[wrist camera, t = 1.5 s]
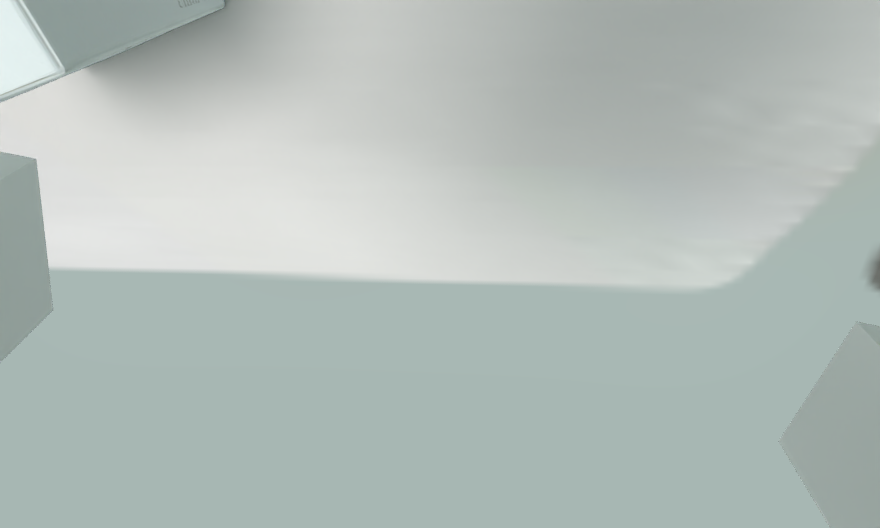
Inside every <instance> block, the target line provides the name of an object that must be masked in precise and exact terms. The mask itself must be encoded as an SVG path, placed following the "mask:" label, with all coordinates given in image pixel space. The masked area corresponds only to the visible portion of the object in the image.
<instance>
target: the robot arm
mask: <svg viewBox="0 0 880 528" xmlns="http://www.w3.org/2000/svg"><path fill="white" fill-rule="evenodd" d="M52 311H53V304H52V295H51V285H50V276H49V268H48V259H47V250H46V241H45V232H44V224H43V215H42V206H41V197H40V188H39V179H38V171H37V162H36V159H34V158H29V157H24V156H19V155H14V154H9V153H4V152H0V362H1V361H2V360H3V359H4V358H6V357H7V356H8V354H10V352H12V350H14V349H15V348H16V347H17V346H18V345H19V344H20V343H21V342H22V341H23V340H24V338H25V337H27V336H28V335H29V334H30V333H31V332H32V330H34V329H35V328H36V327H37V326H38V325H39V324H40V323H41V322H42V321H43V320H44V319H45V318H46V317H47V316H48V315H49V314H50V313H51V312H52ZM779 443H780V445H781V446H782V448H783V450H784V451H785V453H786V455H787V456H788V458H789V460H790V461H791V463H792V465H793V466H794V468H795V470H796V472H797V473H798V475H799V476H800V478H801V480H802V481H803V483H804V485H805V487H806V488H807V490H808V492H809V493H810V495H811V497H812V498H813V500H814V502H815V503H816V505H817V507H818V508H819V510H820V512H821V513H822V515H823V517H824V518H825V520H826V522H827V523H828V525H829V527H830V528H880V326H876V325H871V324H866V323H861V322H856V323H855V324H854V326H853V327H852V329H851V330H850V332H849V334H848V335H847V337H846V338H845V340H844V341H843V343H842V344H841V346H840V347H839V349H838V351H837V352H836V353H835V355H834V357H833V358H832V360H831V361H830V363H829V364H828V366H827V367H826V369H825V371H824V372H823V374H822V375H821V377H820V378H819V380H818V381H817V383H816V384H815V386H814V388H813V389H812V390H811V392H810V394H809V395H808V397H807V398H806V400H805V401H804V403H803V404H802V406H801V407H800V409H799V410H798V412H797V413H796V415H795V417H794V418H793V420H792V421H791V423H790V424H789V426H788V427H787V429H786V430H785V432H784V434H783V435H782V437H781V438H780V440H779Z"/></svg>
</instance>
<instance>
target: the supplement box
mask: <svg viewBox="0 0 880 528" xmlns="http://www.w3.org/2000/svg"><path fill="white" fill-rule="evenodd" d="M224 6H225V1H224V0H0V102H3V101H5V100H8V99H10V98H13V97H15V96H18V95H20V94H23V93H25V92H28V91H30V90H33V89H35V88H38V87H40V86H42V85H45V84H47V83H49V82H52V81H54V80H57V79H59V78H61V77H64V76H66V75H69V74H71V73H73V72H76V71H78V70H81V69H83V68H85V67H88V66H90V65H92V64H95V63H97V62H100V61H102V60H104V59H107V58H109V57H112V56H114V55H116V54H119V53H121V52H123V51H126V50H128V49H130V48H133V47H135V46H137V45H140V44H142V43H144V42H147V41H149V40H151V39H153V38H155V37H158V36H160V35H162V34H164V33H167V32H169V31H171V30H173V29H176V28H178V27H180V26H183V25H185V24H187V23H190V22H192V21H194V20H197V19H199V18H201V17H204V16H206V15H208V14H211V13H213V12H215V11H218V10H220V9H222V8H223V7H224Z"/></svg>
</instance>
